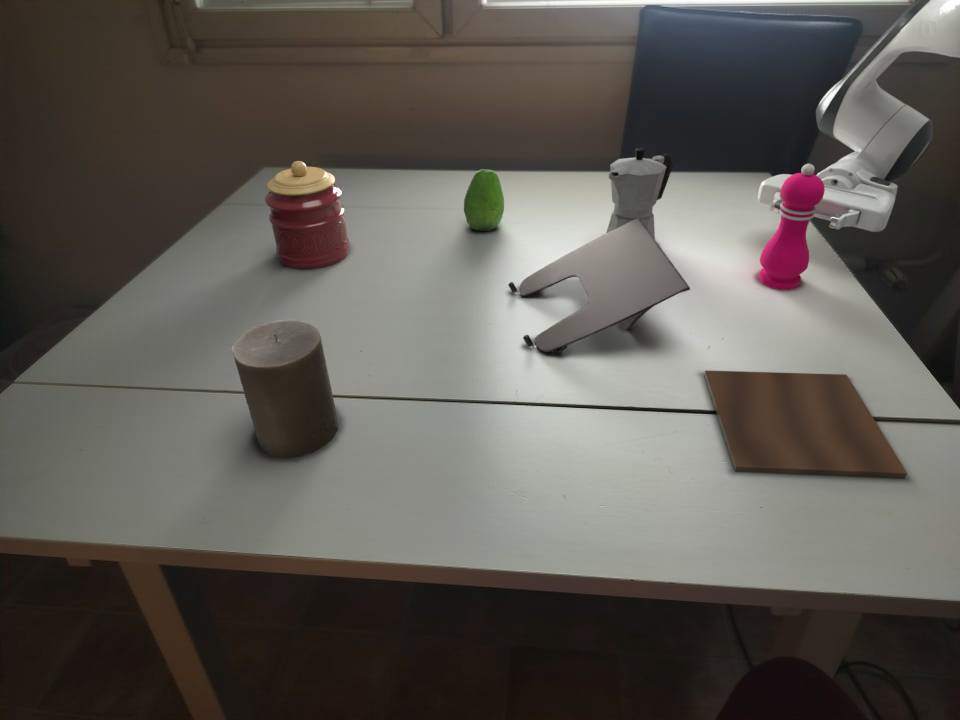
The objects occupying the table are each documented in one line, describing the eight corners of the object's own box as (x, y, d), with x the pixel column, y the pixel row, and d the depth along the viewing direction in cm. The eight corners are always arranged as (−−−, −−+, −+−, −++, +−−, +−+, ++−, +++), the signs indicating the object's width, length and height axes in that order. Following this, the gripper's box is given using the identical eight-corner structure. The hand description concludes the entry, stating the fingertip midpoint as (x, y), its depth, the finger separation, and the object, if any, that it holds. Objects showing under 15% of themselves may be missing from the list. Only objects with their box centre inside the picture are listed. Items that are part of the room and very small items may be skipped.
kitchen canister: (300, 238, 128) (282, 146, 118) (362, 245, 125) (349, 151, 115) (265, 269, 118) (242, 171, 108) (331, 277, 115) (314, 177, 105)
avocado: (511, 233, 128) (511, 172, 121) (473, 241, 126) (471, 179, 119) (494, 218, 134) (493, 159, 127) (458, 225, 132) (455, 165, 125)
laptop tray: (528, 314, 115) (504, 273, 109) (652, 252, 110) (634, 206, 105) (554, 397, 96) (526, 352, 91) (705, 326, 91) (685, 274, 86)
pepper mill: (802, 297, 106) (838, 174, 94) (754, 291, 108) (783, 170, 96) (800, 276, 111) (834, 158, 100) (754, 271, 113) (782, 154, 102)
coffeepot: (622, 266, 116) (633, 164, 105) (584, 247, 122) (592, 149, 112) (681, 242, 123) (697, 144, 113) (643, 225, 129) (654, 132, 119)
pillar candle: (346, 449, 79) (326, 345, 71) (262, 471, 77) (231, 365, 68) (331, 402, 87) (312, 302, 78) (254, 420, 84) (225, 319, 75)
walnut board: (843, 383, 87) (846, 374, 86) (902, 483, 73) (907, 473, 72) (703, 379, 89) (704, 370, 88) (733, 476, 74) (736, 466, 73)
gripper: (782, 160, 117) (745, 181, 109) (909, 187, 105) (878, 213, 97) (774, 194, 121) (738, 217, 113) (896, 224, 109) (865, 252, 101)
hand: (804, 215), depth 105 cm, fingers open, 8 cm apart
